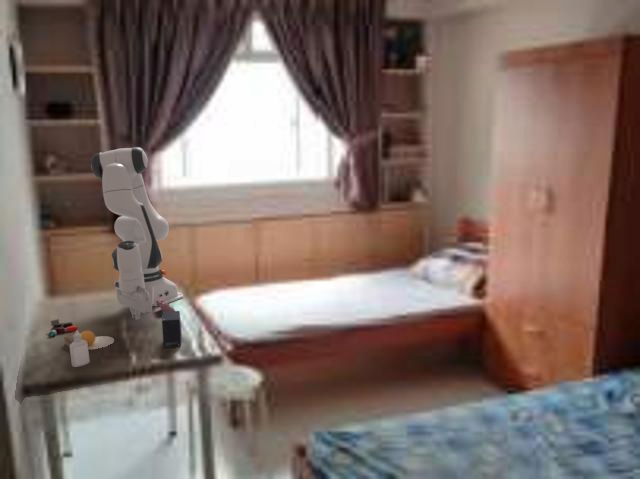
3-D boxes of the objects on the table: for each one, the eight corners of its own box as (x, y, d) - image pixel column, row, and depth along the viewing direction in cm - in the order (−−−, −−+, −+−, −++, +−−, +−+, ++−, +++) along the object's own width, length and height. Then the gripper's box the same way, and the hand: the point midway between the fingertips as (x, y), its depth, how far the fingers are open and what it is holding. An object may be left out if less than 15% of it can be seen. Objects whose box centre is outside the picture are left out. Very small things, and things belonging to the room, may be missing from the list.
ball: (93, 331, 232) (80, 327, 228) (100, 335, 228) (86, 331, 224) (87, 345, 231) (73, 341, 227) (94, 349, 227) (80, 346, 223)
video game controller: (161, 312, 269) (152, 299, 266) (170, 306, 270) (161, 293, 267) (167, 319, 260) (158, 305, 257) (176, 312, 262) (167, 299, 259)
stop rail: (71, 342, 232) (70, 335, 231) (87, 352, 222) (86, 344, 221) (65, 344, 230) (64, 336, 230) (80, 354, 220) (79, 346, 219)
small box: (182, 346, 224) (179, 318, 222) (163, 348, 223) (160, 320, 221) (182, 336, 234) (180, 309, 232) (164, 338, 233) (162, 311, 231)
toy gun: (46, 339, 238) (45, 327, 237) (55, 328, 250) (53, 316, 249) (73, 337, 239) (72, 324, 238) (80, 326, 251) (79, 315, 250)
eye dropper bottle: (89, 365, 210) (85, 331, 208) (71, 368, 208) (67, 333, 206) (90, 360, 214) (86, 327, 212) (72, 363, 212) (68, 329, 210)
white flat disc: (105, 334, 240) (104, 333, 240) (120, 342, 230) (120, 342, 230) (71, 343, 231) (71, 342, 231) (85, 352, 222) (85, 352, 222)
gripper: (154, 287, 232) (158, 322, 236) (126, 277, 246) (130, 310, 250) (138, 291, 228) (143, 327, 231) (111, 281, 242) (116, 315, 245)
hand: (136, 318), depth 241 cm, fingers closed
